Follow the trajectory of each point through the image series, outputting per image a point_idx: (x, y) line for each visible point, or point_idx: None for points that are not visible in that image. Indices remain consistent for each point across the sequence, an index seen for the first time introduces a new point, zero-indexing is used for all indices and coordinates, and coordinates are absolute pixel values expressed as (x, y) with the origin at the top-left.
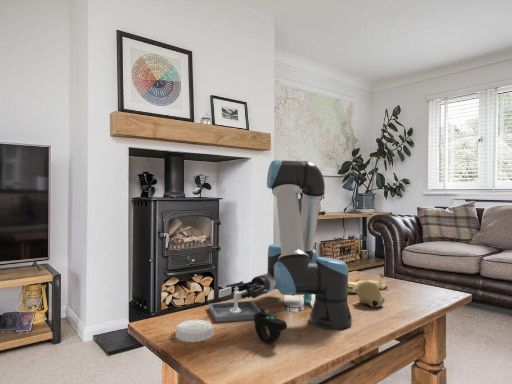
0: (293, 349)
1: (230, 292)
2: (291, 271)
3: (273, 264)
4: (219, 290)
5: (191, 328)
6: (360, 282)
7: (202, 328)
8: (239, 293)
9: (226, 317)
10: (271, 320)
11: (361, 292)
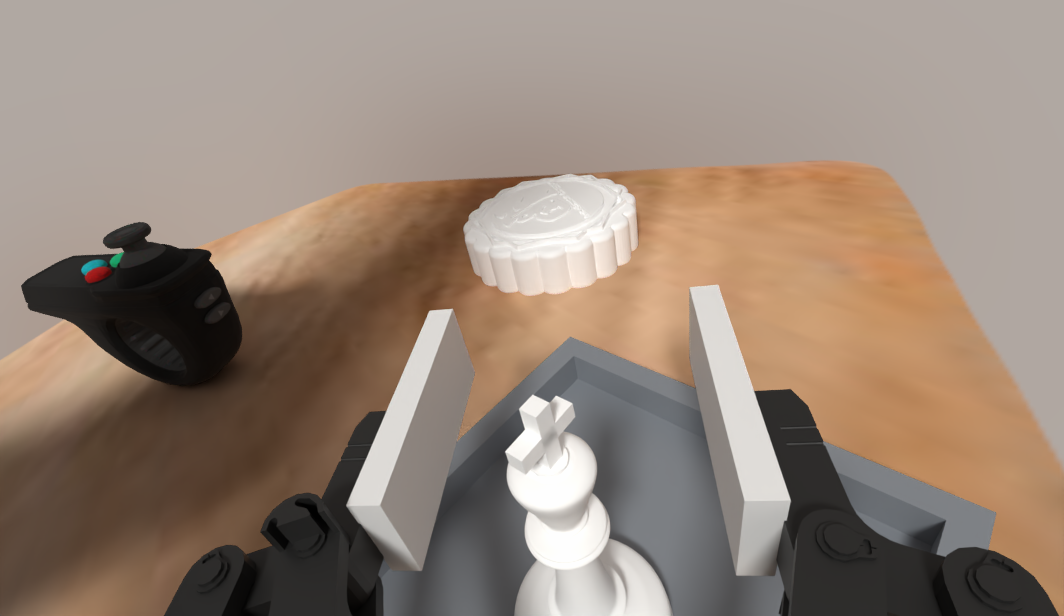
0: (75, 387)
1: (732, 531)
2: None
3: None
4: (706, 287)
5: (529, 192)
6: None
7: (492, 213)
8: (410, 365)
9: (520, 390)
10: (105, 260)
11: None
